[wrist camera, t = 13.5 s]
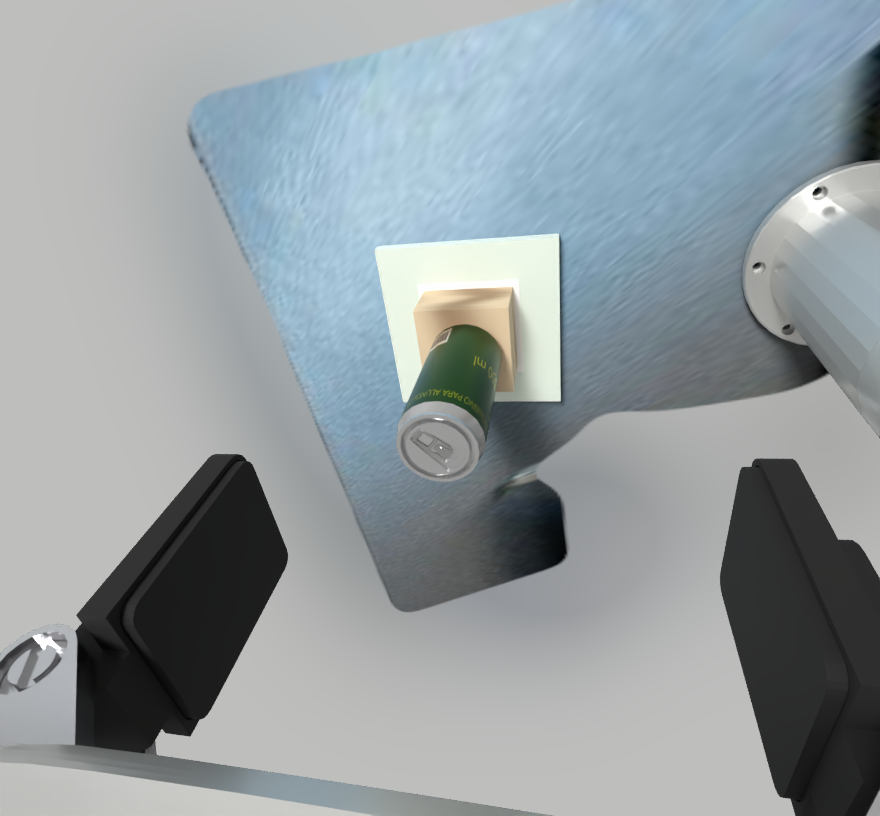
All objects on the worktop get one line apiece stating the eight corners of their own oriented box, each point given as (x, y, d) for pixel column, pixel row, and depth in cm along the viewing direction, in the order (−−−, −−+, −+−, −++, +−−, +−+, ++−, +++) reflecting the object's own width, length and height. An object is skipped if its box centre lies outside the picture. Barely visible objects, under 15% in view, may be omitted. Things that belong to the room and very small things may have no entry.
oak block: (512, 286, 43) (508, 307, 40) (517, 366, 47) (513, 391, 43) (424, 291, 44) (413, 311, 41) (435, 368, 48) (426, 392, 45)
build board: (559, 233, 41) (559, 237, 40) (560, 394, 49) (560, 401, 48) (378, 246, 44) (374, 250, 43) (405, 396, 52) (403, 402, 51)
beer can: (419, 356, 43) (376, 452, 33) (458, 305, 40) (423, 393, 30) (475, 395, 44) (449, 498, 34) (517, 347, 41) (502, 446, 31)
